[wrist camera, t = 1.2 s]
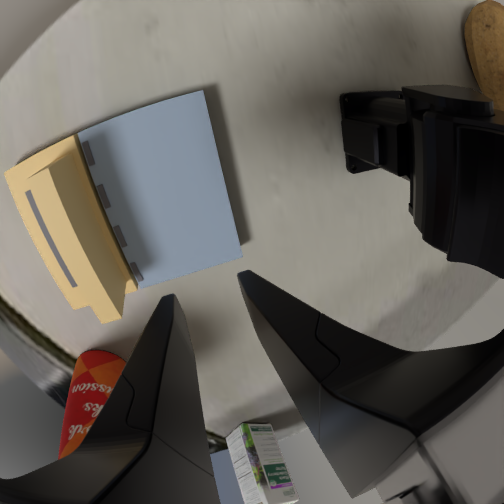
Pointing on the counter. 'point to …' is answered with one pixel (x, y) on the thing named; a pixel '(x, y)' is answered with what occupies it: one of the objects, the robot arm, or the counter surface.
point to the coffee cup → (88, 395)
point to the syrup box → (260, 465)
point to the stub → (72, 228)
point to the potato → (487, 49)
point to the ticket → (163, 188)
